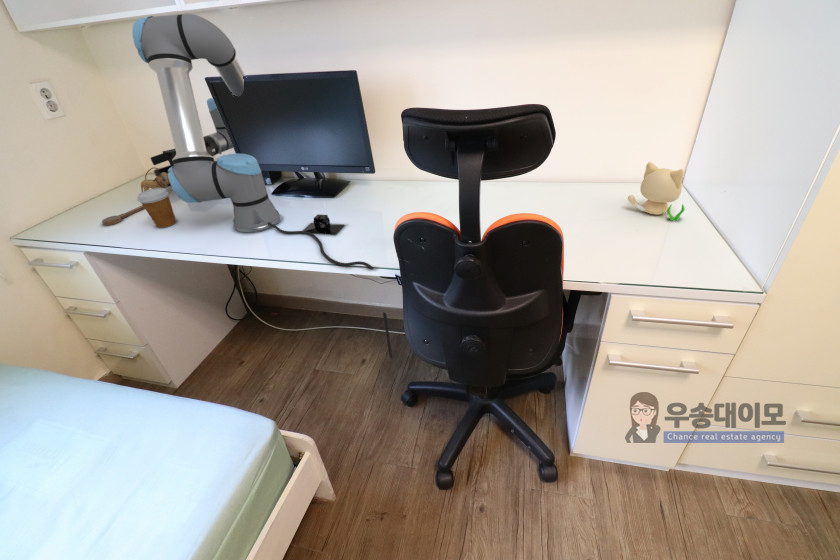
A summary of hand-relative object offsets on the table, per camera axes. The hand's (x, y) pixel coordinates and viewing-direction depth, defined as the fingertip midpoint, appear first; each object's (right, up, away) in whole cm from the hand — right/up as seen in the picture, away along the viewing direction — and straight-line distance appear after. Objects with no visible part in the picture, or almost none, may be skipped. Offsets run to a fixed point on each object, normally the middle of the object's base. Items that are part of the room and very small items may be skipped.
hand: (166, 162), depth 138 cm
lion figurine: (-23, -5, +31) cm, 39 cm away
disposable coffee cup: (-2, -21, +4) cm, 22 cm away
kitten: (+163, -21, -17) cm, 165 cm away
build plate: (+58, -25, -10) cm, 64 cm away
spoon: (-23, -15, +15) cm, 31 cm away
